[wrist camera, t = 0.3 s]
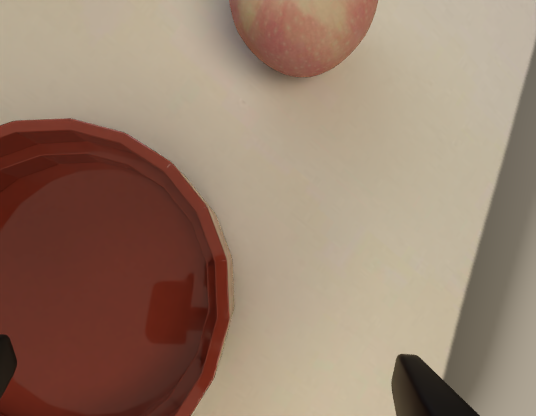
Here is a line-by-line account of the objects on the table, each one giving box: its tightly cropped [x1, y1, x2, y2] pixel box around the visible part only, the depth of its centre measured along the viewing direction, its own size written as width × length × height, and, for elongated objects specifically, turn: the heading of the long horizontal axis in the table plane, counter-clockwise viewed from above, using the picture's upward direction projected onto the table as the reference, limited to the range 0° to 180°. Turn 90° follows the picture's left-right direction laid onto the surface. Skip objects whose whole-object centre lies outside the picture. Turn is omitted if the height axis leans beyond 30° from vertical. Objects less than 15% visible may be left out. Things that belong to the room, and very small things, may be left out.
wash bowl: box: [0, 118, 234, 416], centre depth 19 cm, size 17×17×4 cm
